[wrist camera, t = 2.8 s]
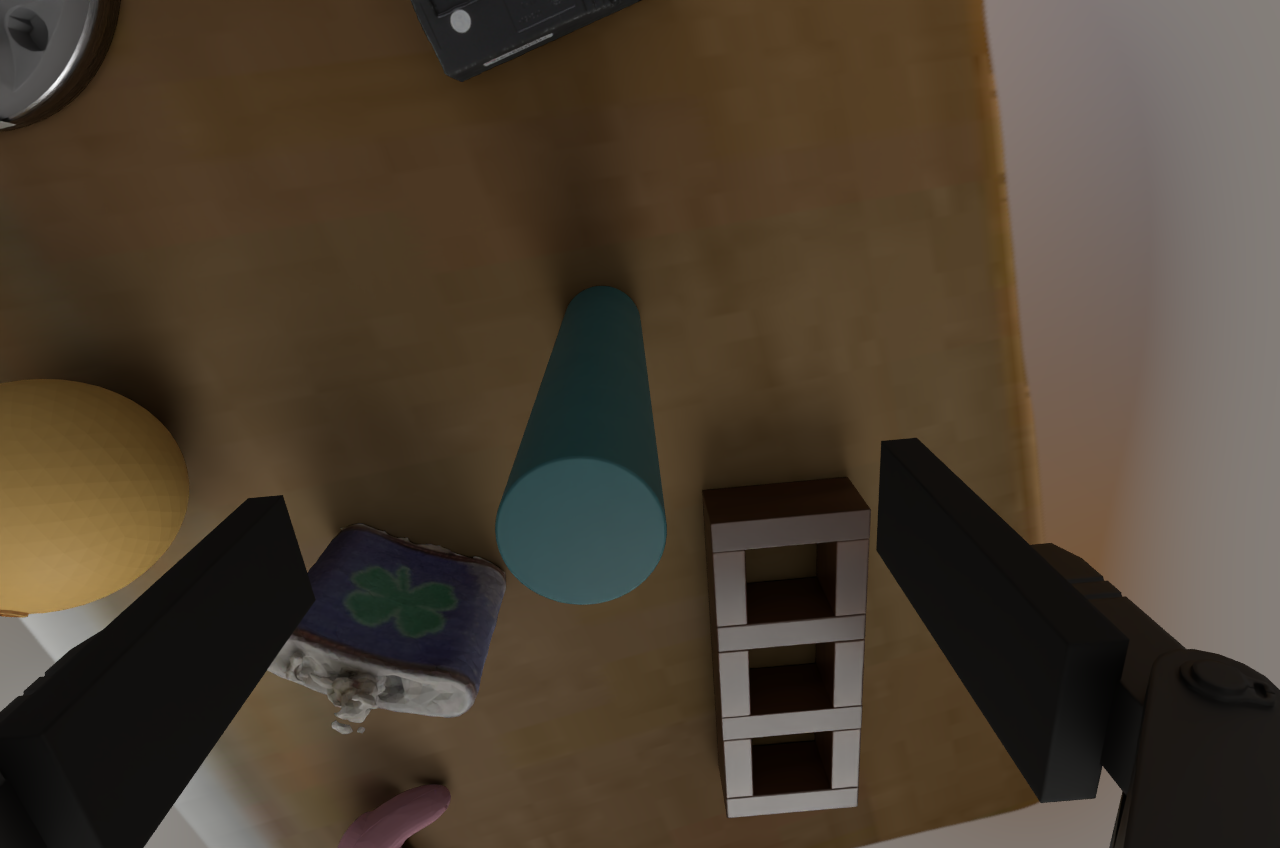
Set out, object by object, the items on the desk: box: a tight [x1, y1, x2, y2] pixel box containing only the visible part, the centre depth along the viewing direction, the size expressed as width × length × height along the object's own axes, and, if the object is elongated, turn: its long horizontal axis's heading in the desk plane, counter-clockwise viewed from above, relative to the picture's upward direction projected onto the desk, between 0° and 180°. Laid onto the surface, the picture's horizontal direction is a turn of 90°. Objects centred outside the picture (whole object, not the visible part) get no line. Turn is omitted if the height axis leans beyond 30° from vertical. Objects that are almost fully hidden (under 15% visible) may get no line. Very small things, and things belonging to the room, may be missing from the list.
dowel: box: [495, 286, 667, 605], centre depth 23 cm, size 4×4×19 cm
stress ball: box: [0, 379, 189, 617], centre depth 29 cm, size 10×10×10 cm
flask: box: [267, 523, 506, 734], centre depth 31 cm, size 9×3×11 cm, turn 69°
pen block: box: [702, 477, 871, 818], centre depth 37 cm, size 20×8×4 cm, turn 5°
